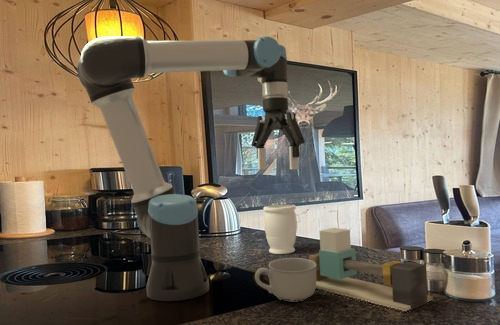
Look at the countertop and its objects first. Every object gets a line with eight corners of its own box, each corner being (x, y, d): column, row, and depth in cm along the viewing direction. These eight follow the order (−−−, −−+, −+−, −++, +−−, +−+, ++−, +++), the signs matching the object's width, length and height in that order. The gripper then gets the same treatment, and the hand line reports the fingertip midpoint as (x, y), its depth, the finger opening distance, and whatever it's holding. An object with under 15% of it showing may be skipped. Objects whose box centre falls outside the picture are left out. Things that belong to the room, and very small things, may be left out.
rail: (404, 313, 91) (402, 272, 91) (303, 286, 113) (301, 253, 113) (432, 301, 98) (430, 262, 97) (331, 277, 120) (329, 246, 119)
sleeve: (339, 279, 107) (337, 233, 107) (320, 275, 111) (317, 231, 111) (356, 274, 110) (354, 229, 110) (337, 270, 115) (334, 227, 115)
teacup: (314, 289, 110) (312, 255, 110) (322, 304, 100) (320, 267, 99) (254, 293, 110) (252, 259, 110) (257, 309, 99) (254, 271, 99)
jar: (298, 247, 158) (295, 203, 158) (298, 254, 148) (295, 207, 148) (266, 249, 159) (264, 204, 159) (264, 255, 149) (262, 208, 149)
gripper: (315, 93, 133) (317, 168, 133) (256, 103, 152) (259, 168, 152) (297, 92, 128) (299, 169, 128) (239, 102, 147) (241, 169, 147)
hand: (277, 169), depth 140 cm, fingers open, 13 cm apart
